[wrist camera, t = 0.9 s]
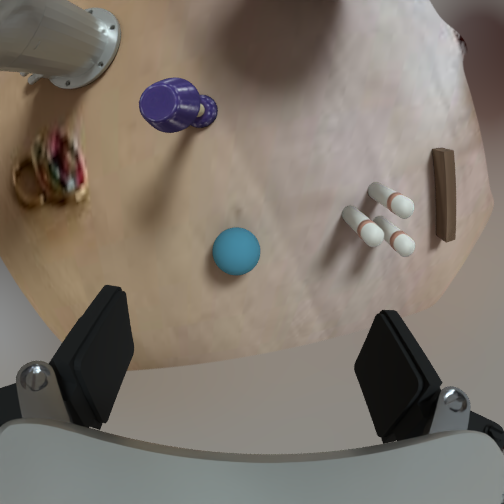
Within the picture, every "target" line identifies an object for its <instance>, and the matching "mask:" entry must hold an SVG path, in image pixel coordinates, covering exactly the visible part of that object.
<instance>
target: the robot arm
mask: <svg viewBox="0 0 504 504" xmlns="http://www.w3.org/2000/svg"><path fill="white" fill-rule="evenodd" d="M114 28H115V29H114ZM120 40H121V29H120V24H119V22H118V19H117V18H116V17H115V16H114V15H113V14H112V13H110V12H109V11H107V10H105V9H102V8H89V9H85V10H83V9H82V8H80V7H78V6H76V5H75V4H73V3H71V2H69V1H67V0H0V71H9V72H20V74H21V75H22V76H23V77H25V76H27V75H28V74H29V73H32V74H33V75H31V76H30V77H29V78H28V83H29V84H31V85H32V84H34V83H35V82H36V81H38V80H39V79H40V78H49V80H50V81H51V82H52V83H53V84H54V85H55V86H57V87H59V88H64V89H76V88H80V87H83V86H86V85H87V84H89V83H91V82H93V81H94V80H95V79H97V78H98V77H99V76H100V75H101V74H102V73H103V72H104V71H105V70H106V69H107V67H108V66H109V65H110V64H111V62H112V60H113V59H114V57H115V55H116V53H117V50H118V48H119V44H120ZM102 65H103V66H102ZM133 353H134V343H133V338H132V332H131V326H130V319H129V312H128V305H127V298H126V293H125V292H124V291H122V289H121V287H117V286H111V285H105V286H104V287H103V288H102V290H101V291H100V292H99V294H98V295H97V296H96V298H95V299H94V300H93V302H92V303H91V304H90V306H89V307H88V309H87V310H86V311H85V313H84V314H83V315H82V317H80V318H79V319H78V321H77V322H76V324H75V325H74V327H73V328H72V329H71V331H70V332H69V334H68V335H67V337H66V338H65V340H64V341H63V343H62V344H61V346H60V347H59V349H58V350H57V352H56V353H55V355H54V356H53V358H52V359H51V361H50V363H49V364H48V363H46V362H43V361H32V362H30V363H27V364H25V365H24V366H23V367H21V369H20V370H19V371H18V374H17V376H16V383H15V384H12V385H9V386H5V387H2V388H0V504H504V431H503V429H502V427H501V426H500V425H498V424H497V423H495V422H493V421H491V420H489V419H487V418H485V417H483V416H481V415H478V414H476V413H474V412H472V411H470V400H469V398H468V396H467V395H466V394H465V393H464V392H463V391H462V390H460V389H459V388H456V387H451V386H450V387H445V388H444V389H442V390H441V389H440V385H441V384H442V381H441V380H440V378H439V376H438V374H437V373H436V371H435V370H434V368H433V366H432V365H431V363H430V361H429V360H428V358H427V357H426V355H425V353H424V352H423V350H422V349H421V347H420V346H419V344H418V343H417V341H416V339H415V338H414V336H413V335H412V333H411V332H410V330H409V329H408V327H407V326H406V324H405V323H404V321H403V320H402V318H401V317H400V315H399V314H398V313H397V311H395V310H382V311H381V312H380V313H379V314H377V315H376V316H375V319H374V321H373V323H372V326H371V328H370V331H369V333H368V335H367V338H366V340H365V342H364V345H363V347H362V349H361V351H360V353H359V356H358V358H357V360H356V362H355V366H354V370H355V373H356V376H357V379H358V381H359V384H360V387H361V389H362V392H363V395H364V398H365V401H366V404H367V406H368V409H369V412H370V415H371V418H372V421H373V424H374V426H375V430H376V432H377V435H378V436H379V437H381V438H382V441H383V444H381V445H375V446H369V447H363V448H356V449H348V450H340V451H331V452H320V453H304V454H271V455H270V454H237V453H222V452H210V451H201V450H192V449H185V448H178V447H172V446H166V445H159V444H155V443H149V442H144V441H140V440H135V439H130V438H126V437H122V436H118V435H114V434H109V433H106V432H102V431H99V430H100V428H101V426H102V423H106V422H107V421H108V418H109V416H110V413H111V410H112V407H113V404H114V402H115V399H116V397H117V394H118V391H119V389H120V386H121V384H122V381H123V378H124V376H125V374H126V371H127V369H128V366H129V364H130V361H131V359H132V356H133ZM89 426H90V427H93V428H96V429H99V430H95V429H91V428H89ZM396 440H397V441H396ZM394 441H396V442H394ZM389 442H391V443H389ZM384 443H386V444H384Z"/></svg>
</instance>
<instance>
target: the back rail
mask: <svg viewBox="0 0 504 504" xmlns="http://www.w3.org/2000/svg"><path fill="white" fill-rule="evenodd" d="M432 152H433V162H434V174H435V191H436V235H437V236H438V237H439V238H441V239H442V240H443V241H445V242H449V241H452V240H455V233H456V177H455V161H454V151H453V150H449V149H445V148H436V149H432Z"/></svg>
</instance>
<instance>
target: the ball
mask: <svg viewBox="0 0 504 504" xmlns="http://www.w3.org/2000/svg"><path fill="white" fill-rule="evenodd" d="M213 258H214V261H215V263H216V265H217V266H218V267H219V268H220V269H221V270H222V271H223V272H225V273H227V274H230V275H243V274H245V273H248V272H249V271H251V270H252V269H253V268H254V267H255V266H256V264H257V263H258V260H259V258H260V245H259V242H258V240H257V238H256V237H255V236H254V235H253V234H252V233H251V232H250V231H248V230H246V229H243V228H237V227H236V228H230V229H227V230H225V231H223V232H222V233H221V234H220V235H219V236H218V237H217V238H216V240H215V242H214V245H213Z"/></svg>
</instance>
